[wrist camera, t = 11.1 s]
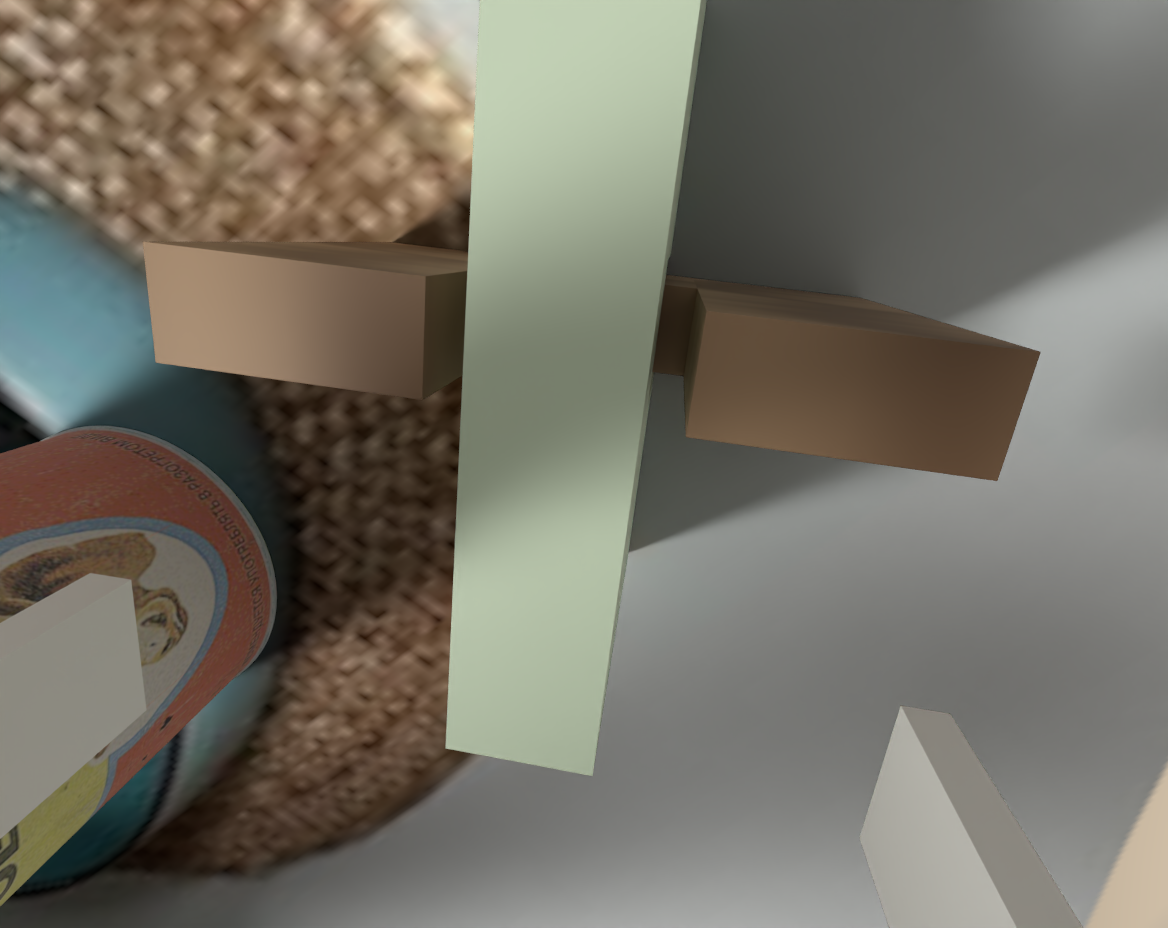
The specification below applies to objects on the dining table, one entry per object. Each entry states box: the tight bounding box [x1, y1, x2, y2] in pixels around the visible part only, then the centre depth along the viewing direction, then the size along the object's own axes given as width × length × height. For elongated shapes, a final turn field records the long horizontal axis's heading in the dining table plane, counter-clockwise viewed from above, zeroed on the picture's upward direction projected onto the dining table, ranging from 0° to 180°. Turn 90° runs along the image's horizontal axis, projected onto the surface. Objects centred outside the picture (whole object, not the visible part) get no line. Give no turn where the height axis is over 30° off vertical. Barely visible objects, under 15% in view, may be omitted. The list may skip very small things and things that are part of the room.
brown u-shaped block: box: [143, 242, 1040, 481], centre depth 15 cm, size 14×2×10 cm, turn 84°
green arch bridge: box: [446, 0, 707, 776], centre depth 15 cm, size 3×16×10 cm, turn 174°
